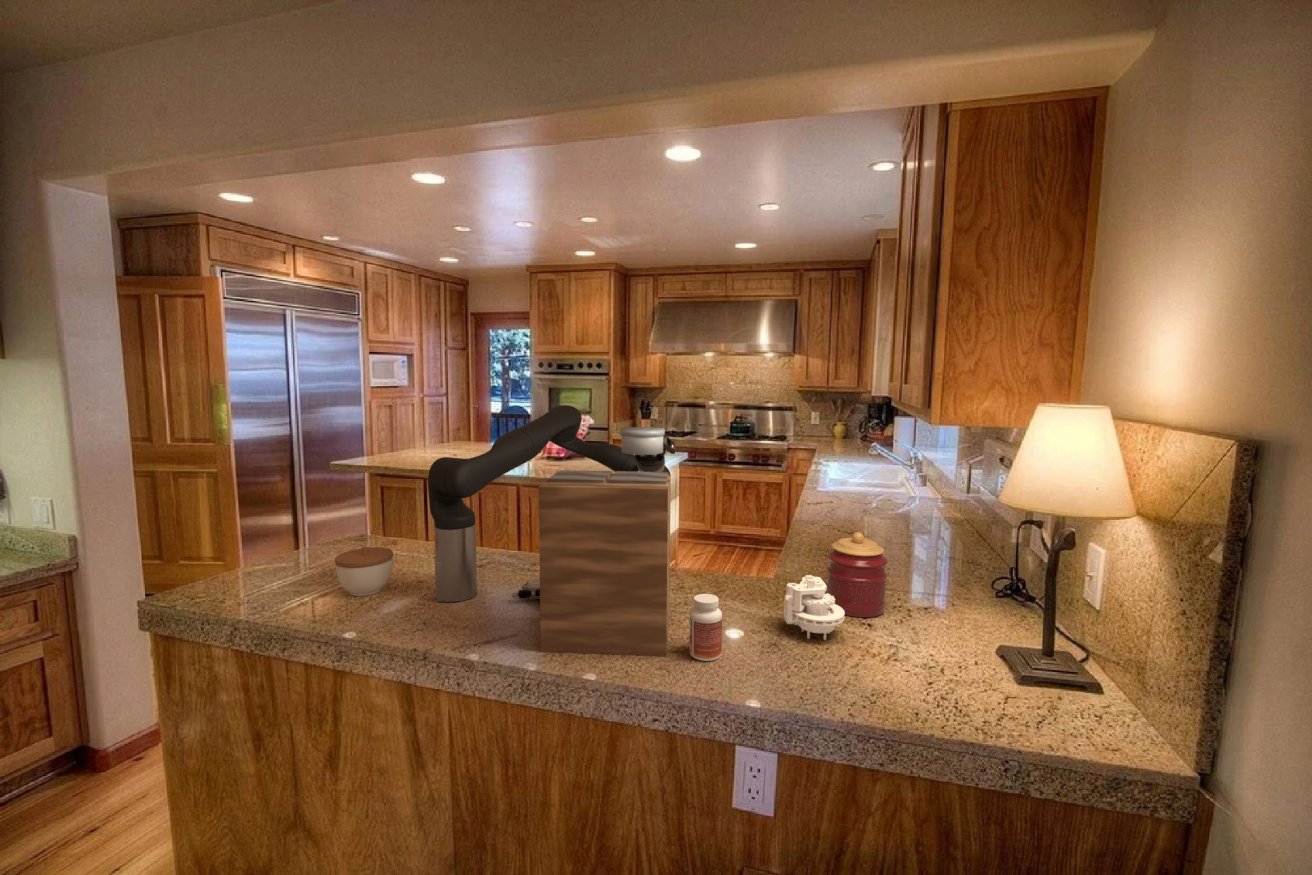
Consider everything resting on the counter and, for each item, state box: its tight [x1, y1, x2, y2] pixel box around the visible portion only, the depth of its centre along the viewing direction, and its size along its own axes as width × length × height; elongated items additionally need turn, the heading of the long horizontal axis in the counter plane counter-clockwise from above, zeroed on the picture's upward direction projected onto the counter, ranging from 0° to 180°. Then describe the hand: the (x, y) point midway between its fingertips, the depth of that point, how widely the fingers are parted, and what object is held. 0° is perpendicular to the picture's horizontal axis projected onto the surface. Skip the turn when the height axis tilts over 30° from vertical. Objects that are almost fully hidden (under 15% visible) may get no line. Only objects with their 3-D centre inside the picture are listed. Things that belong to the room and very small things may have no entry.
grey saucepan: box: [619, 426, 666, 455], centre depth 130 cm, size 23×10×5 cm, turn 176°
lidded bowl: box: [334, 545, 394, 597], centre depth 139 cm, size 13×13×11 cm
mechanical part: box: [783, 574, 846, 641], centre depth 117 cm, size 11×12×12 cm
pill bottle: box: [688, 593, 723, 662], centre depth 108 cm, size 6×6×11 cm
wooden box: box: [538, 469, 672, 657], centre depth 115 cm, size 16×24×33 cm, turn 87°
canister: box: [825, 531, 889, 618], centre depth 131 cm, size 13×13×18 cm
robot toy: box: [511, 577, 540, 601], centre depth 135 cm, size 12×4×15 cm
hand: (646, 432), depth 134 cm, fingers closed on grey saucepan, 3 cm apart
